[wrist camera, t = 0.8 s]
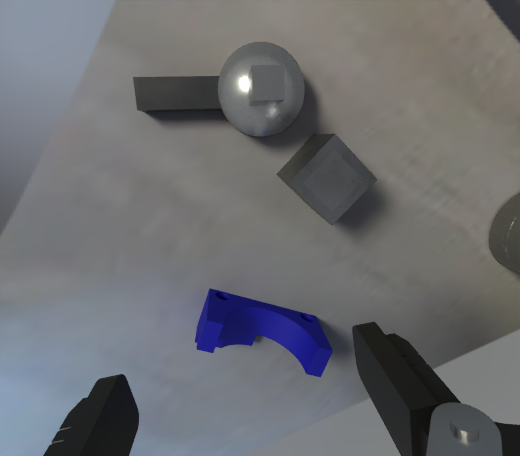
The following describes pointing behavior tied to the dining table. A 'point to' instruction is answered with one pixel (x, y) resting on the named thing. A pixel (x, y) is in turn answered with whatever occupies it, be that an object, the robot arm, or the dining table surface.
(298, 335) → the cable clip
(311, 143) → the grey paneled cube
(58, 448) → the robot arm
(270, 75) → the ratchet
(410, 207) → the dining table surface
